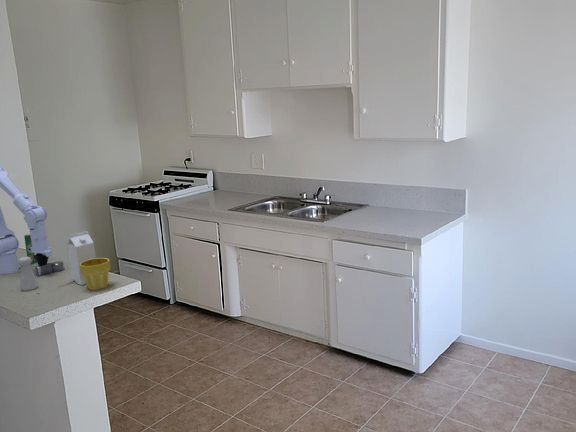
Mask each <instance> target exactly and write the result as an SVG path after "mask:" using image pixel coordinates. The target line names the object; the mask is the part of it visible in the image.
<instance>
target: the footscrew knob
mask: <svg viewBox="0 0 576 432" xmlns="http://www.w3.org/2000/svg"><path fill="white" fill-rule="evenodd" d="M34 268H35V269H34V271H35V274H36V275H35V277H36V276H37V277H41V276H44V275H47V274H51V273H58V272H63V271H64V270H65V265H64V261H60V260H59V261H54V262H47V264H44V265H40V266H38V265H36V266H34Z"/></svg>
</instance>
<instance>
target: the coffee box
mask: <svg viewBox="0 0 576 432" xmlns="http://www.w3.org/2000/svg"><path fill="white" fill-rule="evenodd" d="M23 239H24V242H25V243H24V245H25V250H26V251H25V252H26V257H30V258H31V260H32V262H31V263H30V264H31V265H35V264H38V263H37V261H36V260H35V258H34V257H33V255H36V254H37V253H33V252H31V249H30V247H32V242H31V236H30V233H29V234H24V238H23Z"/></svg>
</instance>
